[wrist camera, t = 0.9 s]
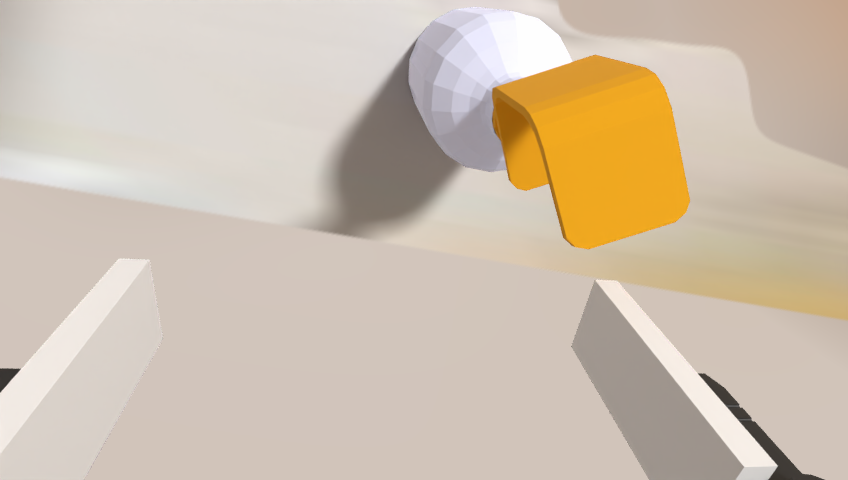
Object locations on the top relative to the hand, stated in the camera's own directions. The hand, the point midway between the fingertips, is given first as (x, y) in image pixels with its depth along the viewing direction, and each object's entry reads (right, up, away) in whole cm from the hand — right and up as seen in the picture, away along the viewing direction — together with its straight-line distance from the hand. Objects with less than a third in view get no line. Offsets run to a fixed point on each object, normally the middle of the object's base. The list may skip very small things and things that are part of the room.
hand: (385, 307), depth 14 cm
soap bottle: (+4, +15, +22) cm, 27 cm away
